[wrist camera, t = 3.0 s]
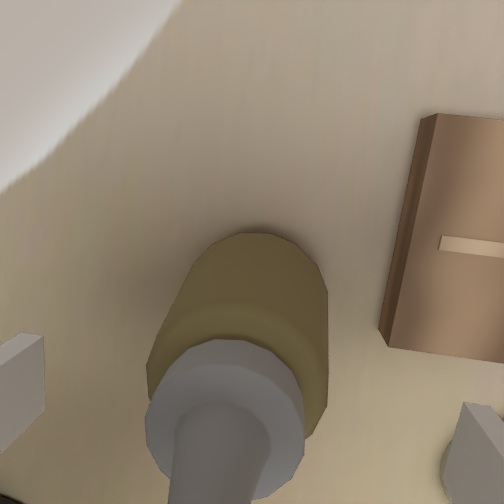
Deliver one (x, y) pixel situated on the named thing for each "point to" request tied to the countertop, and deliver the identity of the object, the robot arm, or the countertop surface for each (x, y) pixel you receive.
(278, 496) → the countertop surface
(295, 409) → the squeeze bottle
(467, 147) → the plate
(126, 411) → the countertop surface
